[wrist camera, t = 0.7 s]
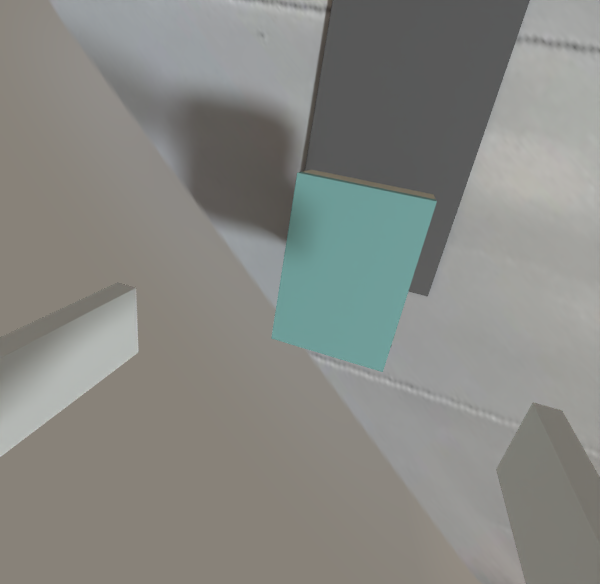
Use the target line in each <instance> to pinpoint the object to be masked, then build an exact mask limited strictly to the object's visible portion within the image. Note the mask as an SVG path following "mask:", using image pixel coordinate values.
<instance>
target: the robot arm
mask: <svg viewBox="0 0 600 584" xmlns="http://www.w3.org/2000/svg"><path fill="white" fill-rule="evenodd" d="M137 353H138V328H137V301H136V288H135V287H131V286H128V285H125V284H121V283H115V284H113V285H111V286H109V287H107V288H105V289H103V290H101V291H98V292H96V293H94V294H92V295H90V296H88V297H86V298H83V299H81V300H79V301H77V302H75V303H73V304H71V305H68V306H66V307H64V308H62V309H60V310H58V311H56V312H54V313H51V314H50V315H47V316H45V317H43V318H41V319H38V320H36V321H34V322H32V323H30V324H28V325H26V326H23V327H21V328H19V329H17V330H15V331H13V332H11V333H9V334H6V335H4V336H2V337H0V457H1V456H2V455H3V454H5V453H6V452H7V451H9V450H10V449H11V448H12V447H14V446H15V445H17V444H18V443H19V442H21V441H22V440H23V439H25V438H26V437H27V436H28V435H30V434H31V433H32V432H34V431H35V430H36V429H38V428H39V427H40V426H42V425H43V424H44V423H46V422H47V421H48V420H49V419H51V418H52V417H53V416H55V415H56V414H58V413H59V412H60V411H61V410H63V409H64V408H65V407H67V406H68V405H69V404H71V403H72V402H73V401H75V400H76V399H77V398H79V397H80V396H81V395H83V394H84V393H85V392H87V391H88V390H89V389H91V388H92V387H93V386H94V385H96V384H97V383H98V382H100V381H101V380H102V379H104V378H105V377H106V376H108V375H109V374H110V373H111V372H113V371H114V370H116V369H117V368H118V367H120V366H121V365H122V364H123V363H125V362H126V361H127V360H129V359H130V358H131V357H133V356H134V355H135V354H137ZM496 470H497V474H498V478H499V482H500V486H501V490H502V494H503V498H504V501H505V505H506V509H507V513H508V517H509V521H510V525H511V528H512V532H513V536H514V540H515V544H516V548H517V552H518V555H519V559H520V563H521V567H522V571H523V575H524V579H525V582H526V584H600V477H599V475H598V474H597V472H596V470H595V468H594V466H593V465H592V463H591V461H590V459H589V458H588V456H587V454H586V452H585V451H584V449H583V447H582V445H581V443H580V442H579V440H578V438H577V436H576V435H575V433H574V431H573V429H572V427H571V426H570V424H569V422H568V420H567V419H566V417H565V415H564V413H563V411H561V410H557V409H554V408H551V407H547V406H544V405H540V404H537V403H532V405H531V407H530V409H529V410H528V412H527V414H526V416H525V418H524V420H523V421H522V423H521V425H520V427H519V429H518V431H517V432H516V434H515V436H514V438H513V440H512V442H511V444H510V445H509V447H508V449H507V451H506V453H505V455H504V456H503V458H502V460H501V462H500V464H499V466H498V467H497V469H496Z"/></svg>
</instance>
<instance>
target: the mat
mask: <svg viewBox="0 0 600 584" xmlns="http://www.w3.org/2000/svg"><path fill="white" fill-rule="evenodd" d="M529 1H530V0H333V2H332V8H331V14H330V20H329V26H328V32H327V39H326V45H325V51H324V57H323V63H322V69H321V75H320V81H319V87H318V93H317V100H316V106H315V112H314V118H313V124H312V130H311V136H310V142H309V148H308V154H307V161H306V167H305V171H307V170H316V171H321V172H326V173H331V174H336V175H341V176H345V177H350V178H355V179H360V180H365V181H370V182H375V183H380V184H385V185H390V186H394V187H399V188H404V189H409V190H414V191H419V192H424V193H429V194H433V195H434V197H435V199H436V201H437V203H436V206H435V209H434V212H433V215H432V219H431V222H430V225H429V228H428V231H427V234H426V237H425V241H424V244H423V247H422V250H421V253H420V256H419V259H418V263H417V266H416V269H415V272H414V275H413V278H412V281H411V285H410V288H409V292H413V293H417V294H421V295H425V296H428V294H429V291H430V288H431V285H432V282H433V279H434V277H435V274H436V271H437V268H438V265H439V262H440V259H441V256H442V253H443V250H444V248H445V245H446V242H447V239H448V236H449V233H450V230H451V227H452V224H453V221H454V219H455V216H456V213H457V210H458V207H459V204H460V201H461V198H462V195H463V192H464V189H465V187H466V184H467V181H468V178H469V175H470V172H471V169H472V166H473V163H474V160H475V158H476V155H477V152H478V149H479V146H480V143H481V140H482V137H483V134H484V131H485V129H486V126H487V123H488V120H489V117H490V114H491V111H492V108H493V105H494V102H495V100H496V97H497V94H498V91H499V88H500V85H501V82H502V79H503V76H504V73H505V70H506V68H507V65H508V62H509V59H510V56H511V53H512V50H513V47H514V44H515V41H516V39H517V36H518V33H519V30H520V27H521V24H522V21H523V18H524V15H525V12H526V10H527V7H528V4H529Z"/></svg>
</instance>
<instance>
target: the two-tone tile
mask: <svg viewBox="0 0 600 584" xmlns="http://www.w3.org/2000/svg"><path fill="white" fill-rule="evenodd" d="M436 203H437V201H436V199H435V197H434V195H433V194H429V193H424V192H419V191H414V190H409V189H404V188H399V187H394V186H390V185H385V184H380V183H375V182H370V181H365V180H360V179H355V178H350V177H345V176H341V175H336V174H331V173H326V172H321V171H316V170H307V171H303V172H298V173H297V178H296V184H295V191H294V197H293V204H292V210H291V216H290V223H289V229H288V236H287V242H286V248H285V255H284V261H283V268H282V274H281V280H280V287H279V293H278V300H277V306H276V312H275V319H274V325H273V332H272V339H276V340H279V341H282V342H285V343H289V344H292V345H295V346H298V347H302V348H305V349H308V350H312V351H315V352H318V353H322V354H325V355H328V356H331V357H335V358H338V359H341V360H345V361H348V362H351V363H355V364H358V365H361V366H365V367H368V368H371V369H374V370H378V371H381V372H383V369H384V366H385V363H386V360H387V357H388V354H389V351H390V347H391V344H392V341H393V338H394V335H395V332H396V329H397V325H398V322H399V319H400V316H401V313H402V310H403V307H404V303H405V300H406V297H407V294H408V291H409V288H410V285H411V281H412V278H413V275H414V272H415V269H416V266H417V263H418V259H419V256H420V253H421V250H422V247H423V244H424V241H425V237H426V234H427V231H428V228H429V225H430V222H431V219H432V215H433V212H434V209H435V206H436Z"/></svg>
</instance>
